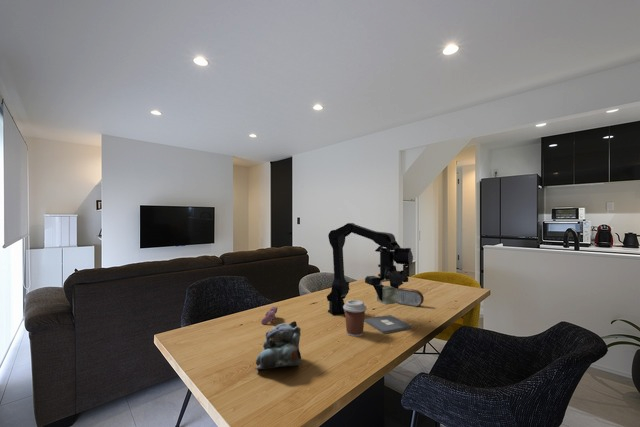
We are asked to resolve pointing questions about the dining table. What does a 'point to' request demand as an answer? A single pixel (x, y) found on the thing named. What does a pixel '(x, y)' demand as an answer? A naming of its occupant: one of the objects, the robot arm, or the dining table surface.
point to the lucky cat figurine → (280, 347)
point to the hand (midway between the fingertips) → (386, 299)
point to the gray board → (387, 324)
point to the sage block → (388, 295)
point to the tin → (409, 297)
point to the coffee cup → (354, 317)
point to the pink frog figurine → (269, 315)
